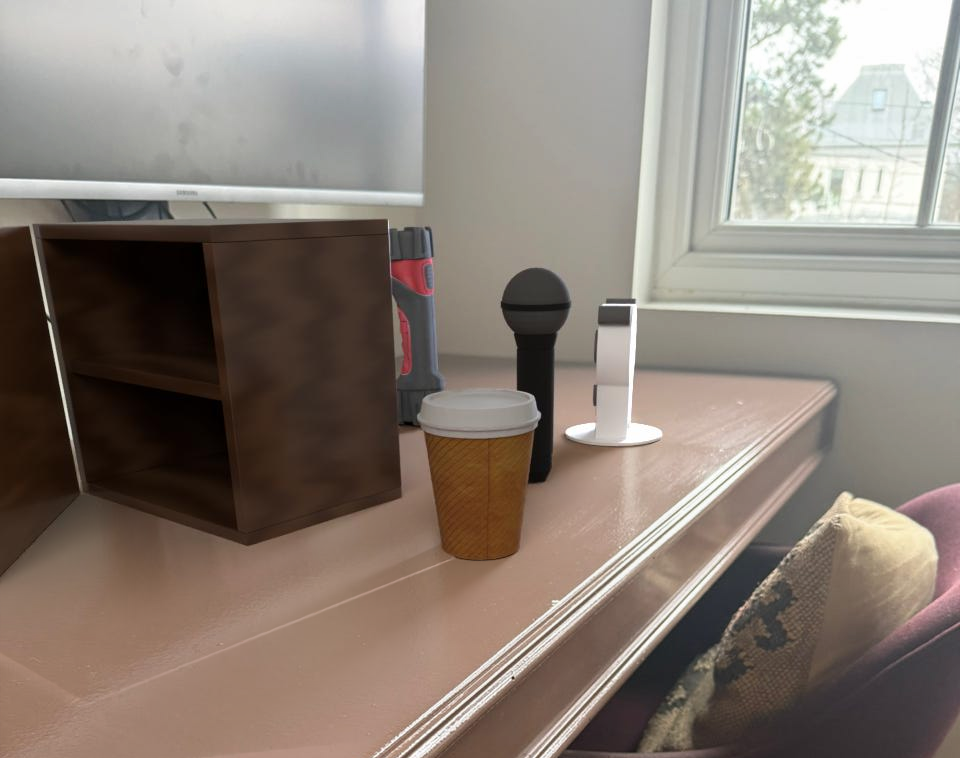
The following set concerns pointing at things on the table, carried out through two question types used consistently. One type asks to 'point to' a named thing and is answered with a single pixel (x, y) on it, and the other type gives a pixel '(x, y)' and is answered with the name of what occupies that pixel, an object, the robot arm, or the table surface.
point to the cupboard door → (28, 406)
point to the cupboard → (228, 367)
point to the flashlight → (415, 318)
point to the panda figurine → (614, 381)
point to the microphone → (537, 349)
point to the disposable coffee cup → (479, 467)
